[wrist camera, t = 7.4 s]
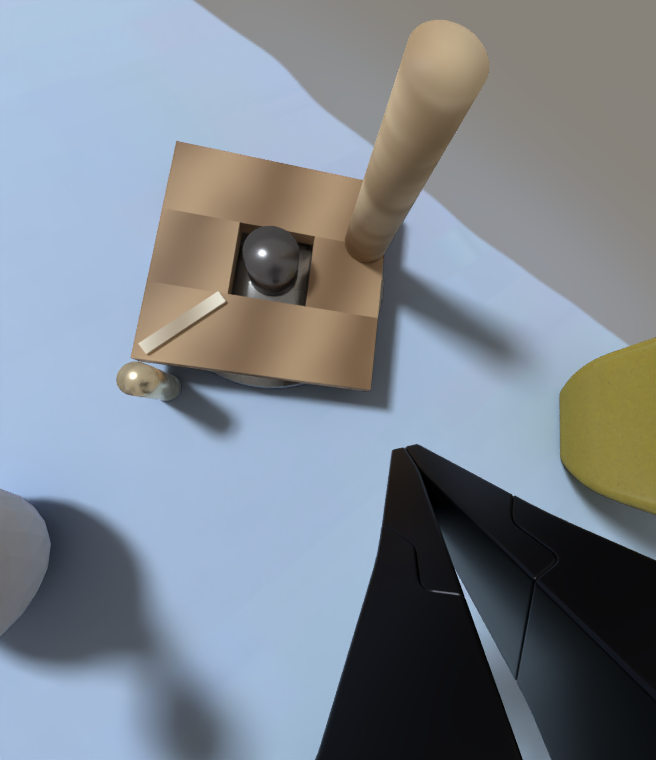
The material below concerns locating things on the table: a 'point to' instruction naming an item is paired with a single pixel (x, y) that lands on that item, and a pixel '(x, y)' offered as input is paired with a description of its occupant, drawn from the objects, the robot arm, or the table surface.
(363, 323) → the flange plate
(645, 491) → the flower pot
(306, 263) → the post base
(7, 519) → the perfume bottle
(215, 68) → the table surface
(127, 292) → the table surface
